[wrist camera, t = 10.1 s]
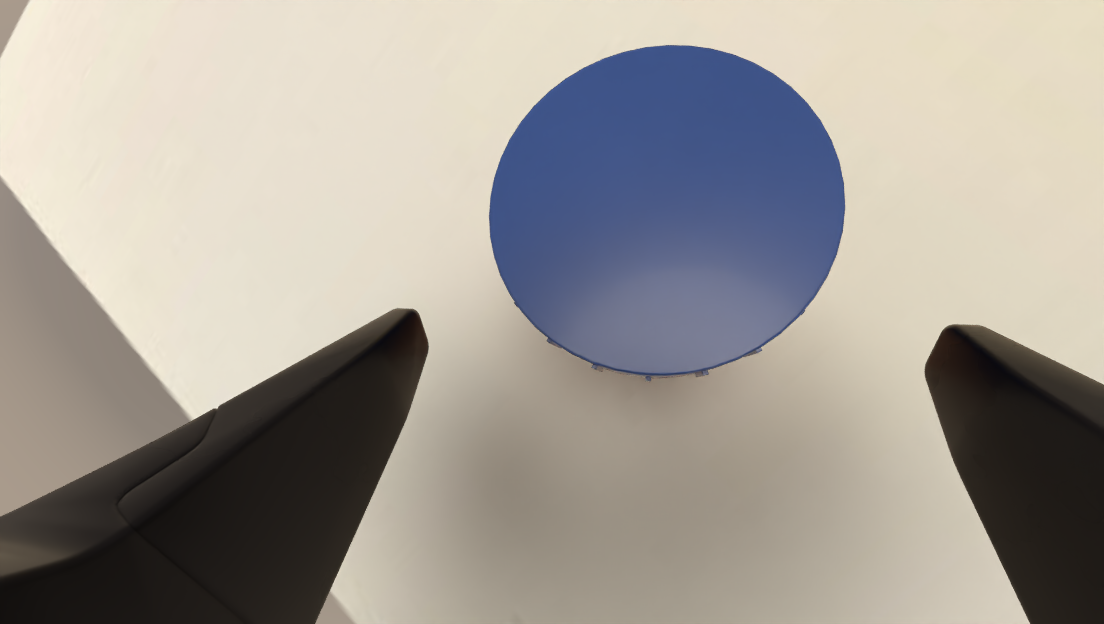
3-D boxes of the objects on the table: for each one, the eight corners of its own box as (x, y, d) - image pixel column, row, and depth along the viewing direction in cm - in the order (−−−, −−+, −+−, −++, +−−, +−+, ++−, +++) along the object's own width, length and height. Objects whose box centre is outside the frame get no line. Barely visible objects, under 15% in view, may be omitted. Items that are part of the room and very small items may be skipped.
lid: (721, 49, 11) (736, -17, 9) (874, 300, 10) (929, 280, 8) (473, 177, 12) (441, 139, 10) (578, 428, 10) (564, 437, 9)
